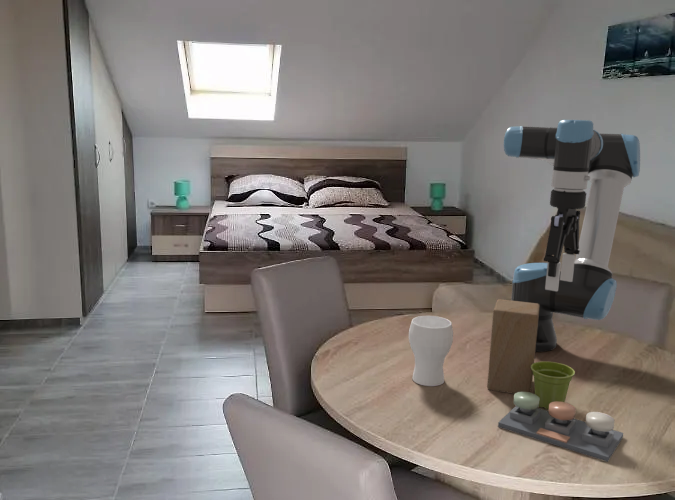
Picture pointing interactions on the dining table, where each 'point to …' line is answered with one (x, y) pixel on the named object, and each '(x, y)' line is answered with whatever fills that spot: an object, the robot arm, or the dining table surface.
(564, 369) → the plant pot
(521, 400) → the button sage
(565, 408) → the button terracotta
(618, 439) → the console
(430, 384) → the cup
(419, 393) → the dining table surface
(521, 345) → the wooden block
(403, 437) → the dining table surface
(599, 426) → the button cream
